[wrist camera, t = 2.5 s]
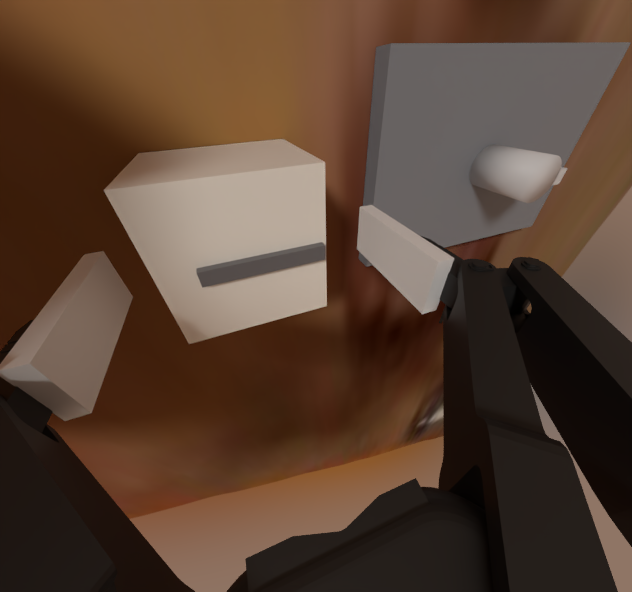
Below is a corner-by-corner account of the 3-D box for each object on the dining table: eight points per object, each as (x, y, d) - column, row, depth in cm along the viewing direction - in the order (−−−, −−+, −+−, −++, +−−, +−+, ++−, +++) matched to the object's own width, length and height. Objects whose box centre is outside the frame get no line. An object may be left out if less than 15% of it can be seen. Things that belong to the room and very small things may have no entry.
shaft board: (358, 258, 23) (395, 297, 19) (376, 47, 14) (454, 27, 10) (518, 220, 28) (577, 244, 24) (606, 45, 19) (726, 31, 15)
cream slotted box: (191, 275, 19) (188, 349, 13) (138, 153, 14) (100, 193, 8) (294, 252, 21) (329, 310, 15) (282, 138, 16) (328, 164, 10)
